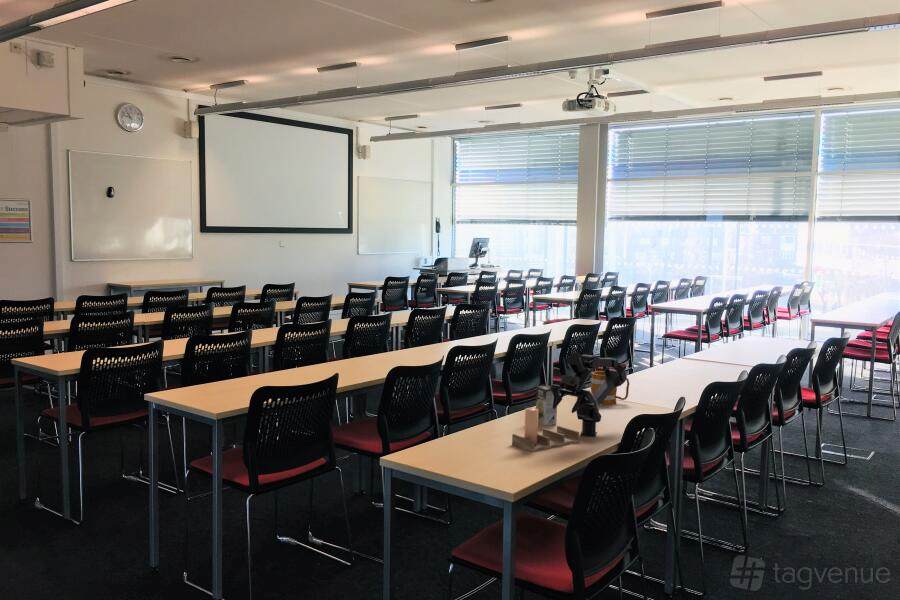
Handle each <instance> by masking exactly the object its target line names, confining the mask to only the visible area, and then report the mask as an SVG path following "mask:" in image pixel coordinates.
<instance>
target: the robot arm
mask: <svg viewBox="0 0 900 600" xmlns="http://www.w3.org/2000/svg"><path fill="white" fill-rule="evenodd" d="M566 364H567V365H568V368H569V369H570V371H571V372H572V373H573V375H572V376H570V375H569V376H568V375H563V374H562V376H561V379H560V382H559V383H560V384H562V385H563V387H564V388H562V386H561V385H559V384H551V385H550V390H551V392H552V393H553V395H554V400H553V409H555V408H556V407H557V408H558V406H559V404H560V403H561V402H562V400H563V398H564V397H565V396H571V397H575V398H576V401H575V403H574V404H573V407H572V408H571V412H570V413H571V414H573V413H575V412H576V417H577V420H581V424H582V425H581V431H580V436H581V435H585V436H584V437H593V436H596V437H597V435H596V434H598V431H596V430H597V423H600V422H601V419H602V414H601V413H600V409H599V407H600V406H601V405H600V404H601V403H602V402H603V401H604V399H605V398H606V397H607V396H608V395H609V393H610V392H611V391H612V390H613V389H614V388H615V387H617V388H618V387H621V386H622V385H623V384H624V383H625V382H627V380H626V379H627V377H628V375H627V373H626V370H625V368H624V367H623V366H622V365H621V364H620V363H619V360H618V359H616V358H613V357H599V356H597V355H591V354H580V352H576V351H575V352H574V354H570V355H569V356H568V357H567V358H566ZM600 367H601V368H604V370H603V371H604V373H605V381H604V382H603V384H602V385H601V386H600V387H599V388H598V389H597V391H596V392H595V393H594V394H593V395H592V394H591V390H586V386H585V385H586V383H587V381H588V380H589V379H591V378H592V375H591V372H592V371H590V370H593V371H594V370H597V369H599V368H600Z"/></svg>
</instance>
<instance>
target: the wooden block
mask: <svg viewBox="0 0 900 600" xmlns="http://www.w3.org/2000/svg"><path fill="white" fill-rule="evenodd" d="M524 410H525V411H524V414H525V415H524V435H523V437H525V438H528V439H531V440H533V441H534V446H535V445H537V439H538V434H539V431H538V430H539V422H538V409H537V408H536V407H526V408H524Z"/></svg>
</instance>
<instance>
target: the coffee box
mask: <svg viewBox="0 0 900 600" xmlns="http://www.w3.org/2000/svg"><path fill="white" fill-rule="evenodd" d="M550 387H551V385H536V387H535V388H536V393H535V394H536V395H535V397H536V399H535V408H537V409H538V424H541V425H543V426H553V425H552V424H556V425H557V423H558V422H557V421H558V420H557V415H558V414H557V413H558V406H557V407H556V408H555V409H553V400H554V395H553V393H552V392H551V390H550Z"/></svg>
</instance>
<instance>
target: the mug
mask: <svg viewBox="0 0 900 600" xmlns="http://www.w3.org/2000/svg"><path fill="white" fill-rule="evenodd" d="M590 372H591V375H592V378H590V380H591V382H590V392H591V394H592V395H593V394H594V393H595V392H596V391H597V389H598V388H599V387H600V386H601V385H602V384H603V382H604V381H605V373H604V370H595V371H590ZM629 389H630V380H629V378H627V379H626V388H625V396H624V397H621V396H618V395H617V390H618V387H615V388H614V389H613V390H612V391H611V392H610V393H609V395H608V396H607V397H606V398H605V399H604V401H603V402H602V403H601V404H602V405H601V406H613V405H616V404H617V399H618V400H620V401H625V400H627V398H628V396H629ZM612 404H613V405H612Z"/></svg>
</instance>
